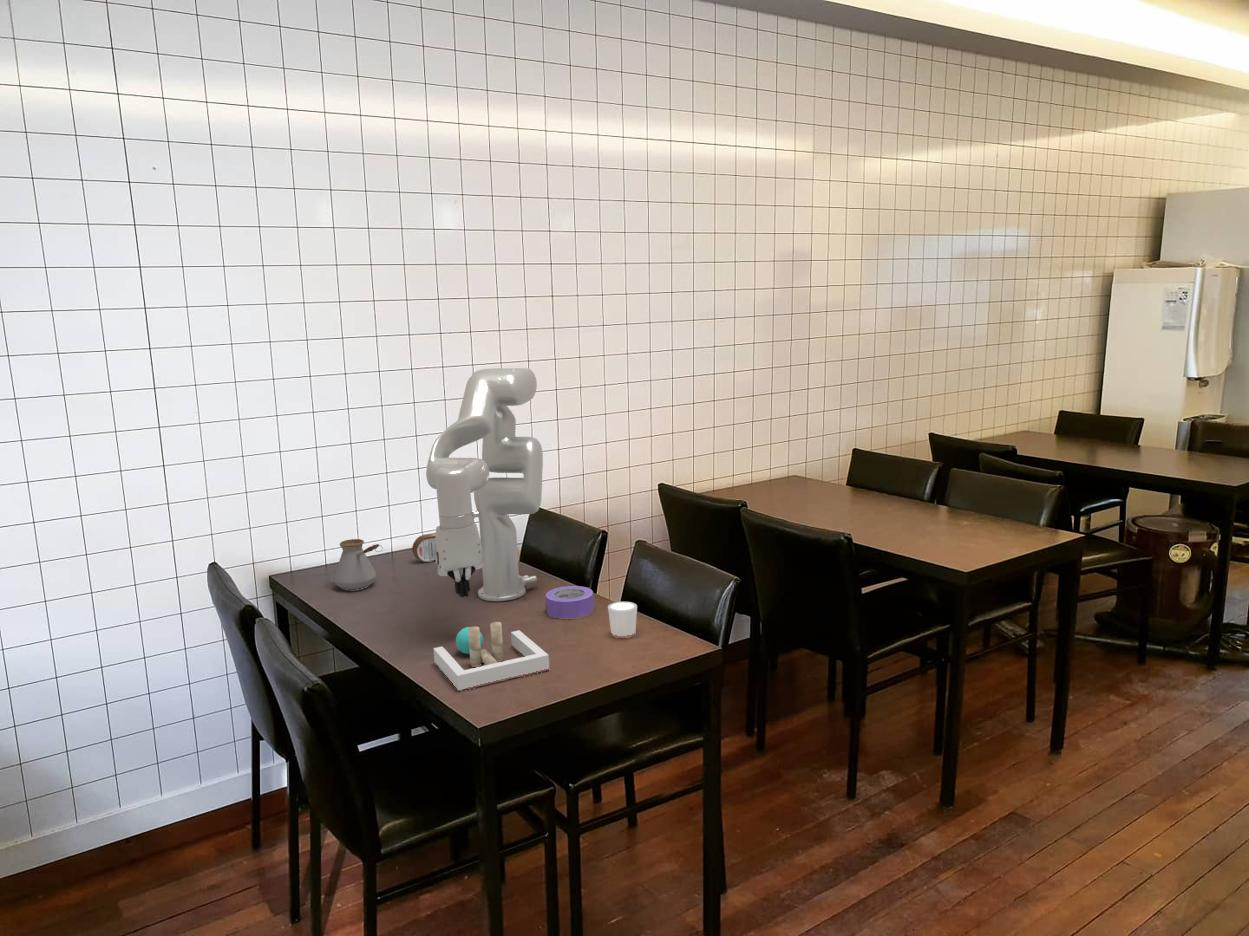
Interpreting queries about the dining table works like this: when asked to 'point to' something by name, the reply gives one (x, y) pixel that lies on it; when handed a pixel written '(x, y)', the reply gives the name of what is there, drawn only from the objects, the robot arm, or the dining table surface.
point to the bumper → (497, 671)
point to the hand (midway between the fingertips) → (462, 595)
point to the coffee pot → (354, 566)
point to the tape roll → (569, 602)
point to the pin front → (487, 657)
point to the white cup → (622, 618)
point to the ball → (465, 640)
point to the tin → (425, 547)
